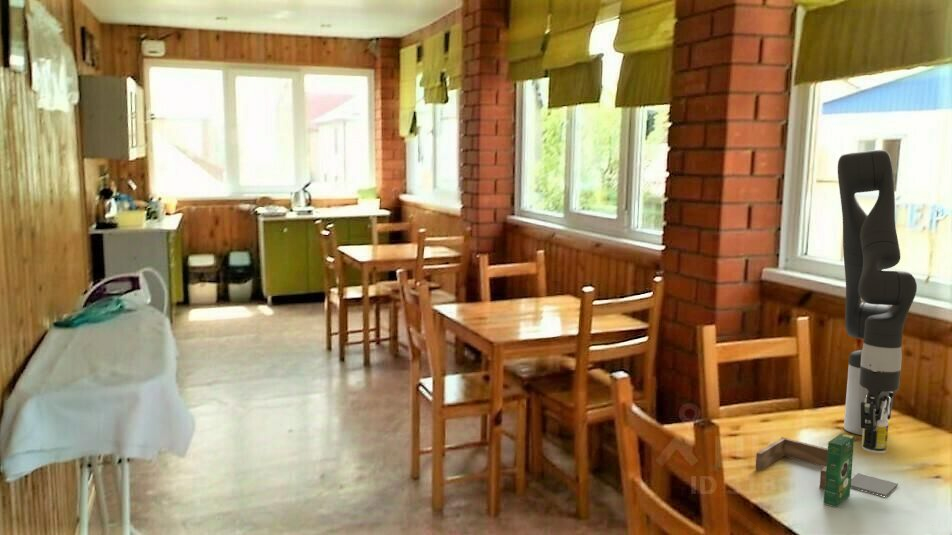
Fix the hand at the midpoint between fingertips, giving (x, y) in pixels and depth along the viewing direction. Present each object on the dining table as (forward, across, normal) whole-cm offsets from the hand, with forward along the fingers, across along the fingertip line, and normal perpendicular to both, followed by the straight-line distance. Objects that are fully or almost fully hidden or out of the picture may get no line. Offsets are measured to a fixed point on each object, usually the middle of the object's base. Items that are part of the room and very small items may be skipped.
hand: (874, 443), depth 164 cm
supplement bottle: (+2, 0, 0) cm, 2 cm away
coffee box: (+10, +12, -3) cm, 16 cm away
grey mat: (+9, 0, 0) cm, 9 cm away
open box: (+9, +2, -14) cm, 17 cm away
